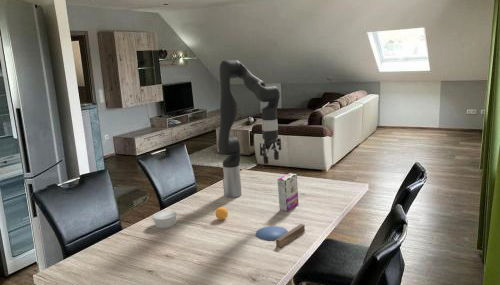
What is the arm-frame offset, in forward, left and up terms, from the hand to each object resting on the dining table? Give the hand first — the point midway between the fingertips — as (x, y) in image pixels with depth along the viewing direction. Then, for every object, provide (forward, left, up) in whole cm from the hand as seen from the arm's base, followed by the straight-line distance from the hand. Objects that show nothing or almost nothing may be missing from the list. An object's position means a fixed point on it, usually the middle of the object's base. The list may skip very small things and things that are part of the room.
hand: (271, 161), depth 190 cm
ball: (-16, -21, -22) cm, 34 cm away
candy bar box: (+3, +8, -26) cm, 27 cm away
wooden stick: (+24, -21, -25) cm, 41 cm away
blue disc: (+14, -21, -25) cm, 36 cm away
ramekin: (-35, -40, -26) cm, 59 cm away
